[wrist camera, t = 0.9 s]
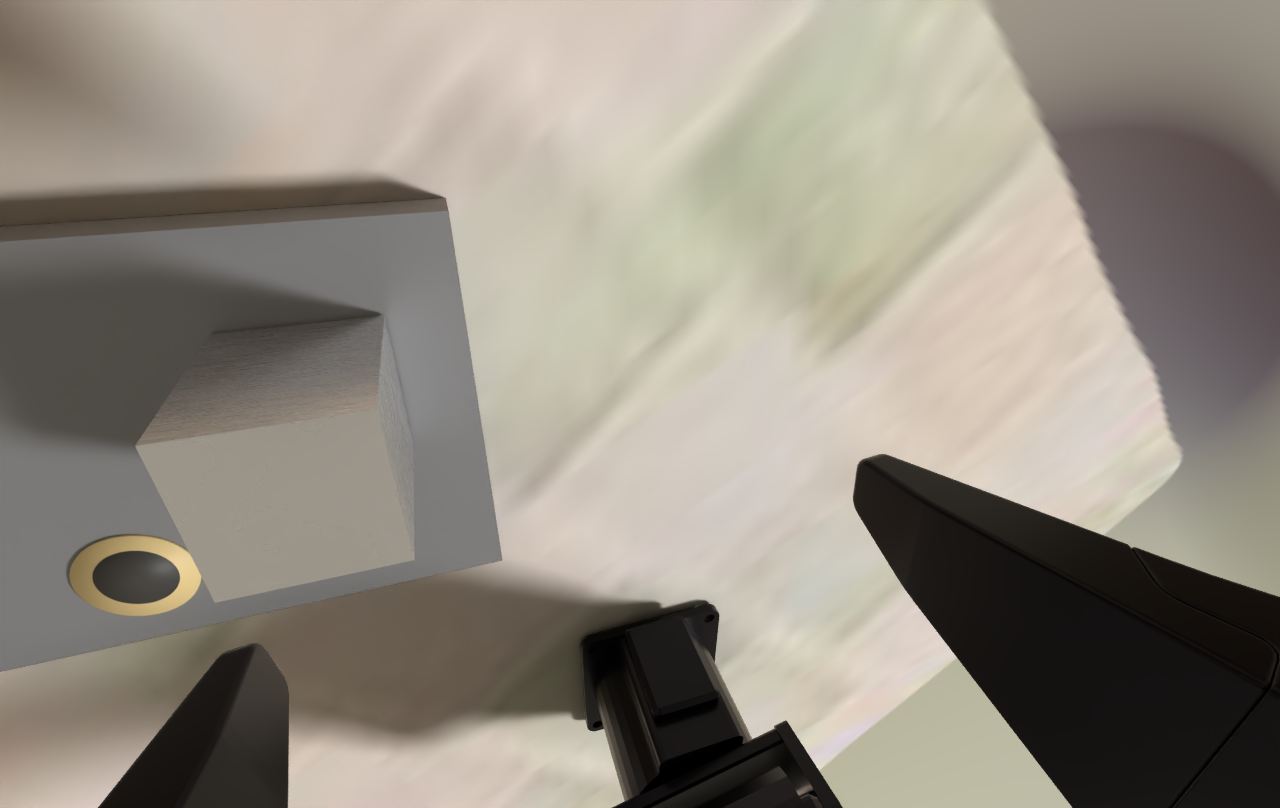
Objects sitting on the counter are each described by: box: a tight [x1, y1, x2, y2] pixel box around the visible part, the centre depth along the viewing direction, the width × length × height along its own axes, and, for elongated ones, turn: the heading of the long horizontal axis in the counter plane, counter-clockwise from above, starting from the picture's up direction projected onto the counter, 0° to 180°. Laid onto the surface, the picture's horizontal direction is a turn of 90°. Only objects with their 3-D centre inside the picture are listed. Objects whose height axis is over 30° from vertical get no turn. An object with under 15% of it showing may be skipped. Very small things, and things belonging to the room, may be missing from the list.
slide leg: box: [135, 315, 415, 603], centre depth 15 cm, size 7×4×5 cm, turn 0°
